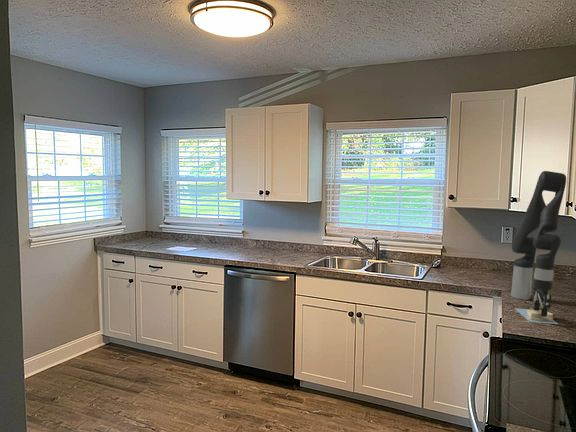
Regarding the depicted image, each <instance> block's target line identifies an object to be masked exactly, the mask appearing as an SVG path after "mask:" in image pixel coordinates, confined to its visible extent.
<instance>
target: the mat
mask: <svg viewBox="0 0 576 432" xmlns="http://www.w3.org/2000/svg"><path fill="white" fill-rule="evenodd" d="M514 310H516V312H517V313H519V314H520V315H521V316H522V317H523V318H525V319H526V321H528V323H529V322H530V323H541V324H543V323H544V324H553V325H559V323H558V322H557V321H555V320H554V319H553V322H549V321H537V320H530V319H529V318H528V317H527V310H530V309H526V308H515V307H514ZM539 311H541V310H540V309H539Z"/></svg>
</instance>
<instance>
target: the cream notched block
mask: <svg viewBox="0 0 576 432" xmlns="http://www.w3.org/2000/svg"><path fill="white" fill-rule="evenodd" d="M527 317H528V318H529V319H530V320H537V321H549V322H553V320H554V314H553V313H551V312H550V311H548V310H547V316H546V317H544V316H541V311H537V310H534V309H529V310H527Z"/></svg>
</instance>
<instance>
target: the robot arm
mask: <svg viewBox="0 0 576 432" xmlns="http://www.w3.org/2000/svg"><path fill="white" fill-rule="evenodd" d="M566 185H567V176H566V174H565V173H561V172H556V171H555V172H554V171H549V170H542V172H541V173H540V174H539V176H538V179H537V181H536V184H535V188H534V191H533V194H532V197H531V200H530V201H529V204H528V206H527V208H526V211H525V213H524V217H523V219H522V221H521V224H520V226H519V228H518V230H517V231H516V234H515V235H514V237H513V240H512V242H511V250H512V251H513V253H516V254H520V255H521V254H524V256H522V257H520V258H516V259H514V261H513V268H512V269H513V270H512V271H513V272H512V281H511V282H512V283H511V293H510V296H511V297H512V298H514V299H517V300H526V301H527V300H533V302H534V303H533V310H537V311H539V310H540V308H541V316H544V317H546V316H547V311H548V310H549V309H551V307H552V306H551V305H552V294H549V292H548V291H552V290H553V285H554V283H553V282H554V275H555V274H554V268H555V260H556V255H557V253H558V251H559V249H560V246H561V244H562V239H561V238H560V236H559V235H557V234H549V233H553V232H556V231H557V230H558V224H559V216H560V209H561V205H562V201H563V198H564V193H565V189H566ZM544 191H546V192H551V193H555V194H554V197H553V198H552V199H551V201H549V202H548V203H547V204H546V202H545V200H544V196H543V192H544ZM536 230H537V231H536ZM534 231H536V233H535V236H529V235H530V234H531V233H533V232H534ZM537 250H544V251H549V252H548V253H544V254H537V256H536V253H537ZM534 264H535V267H534ZM532 282H533V283H532ZM532 287H533V288H532ZM531 293H532V294H531ZM531 295H532V299H531Z"/></svg>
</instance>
